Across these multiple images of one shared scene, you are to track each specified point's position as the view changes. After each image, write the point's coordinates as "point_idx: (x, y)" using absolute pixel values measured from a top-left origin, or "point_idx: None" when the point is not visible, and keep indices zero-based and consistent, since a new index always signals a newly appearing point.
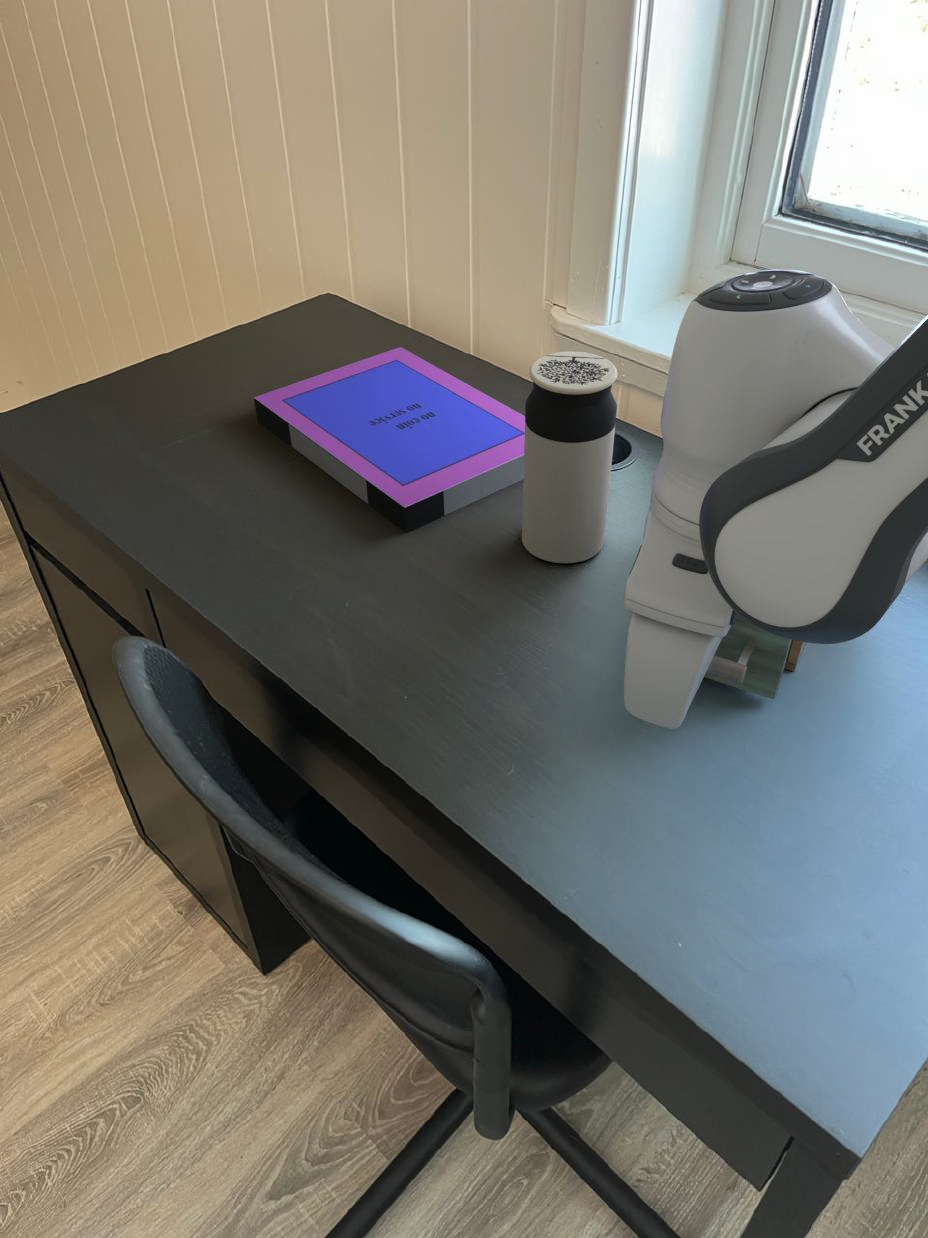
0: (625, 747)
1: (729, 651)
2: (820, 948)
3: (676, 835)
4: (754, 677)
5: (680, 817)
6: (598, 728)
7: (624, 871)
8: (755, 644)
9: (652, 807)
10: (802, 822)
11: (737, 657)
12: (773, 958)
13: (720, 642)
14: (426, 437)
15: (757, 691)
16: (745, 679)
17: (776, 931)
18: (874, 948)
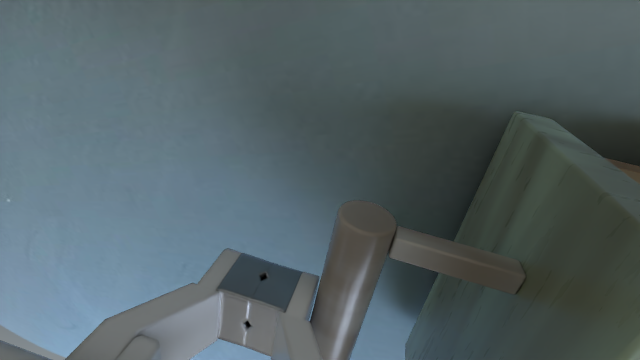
0: (248, 111)
1: (443, 351)
2: (85, 314)
3: (127, 196)
4: (418, 349)
5: (155, 201)
6: (277, 50)
7: (44, 135)
8: None
9: (152, 164)
10: None
11: (433, 356)
12: (52, 278)
13: (454, 352)
14: None
15: (413, 330)
16: (422, 329)
17: (78, 284)
18: None
